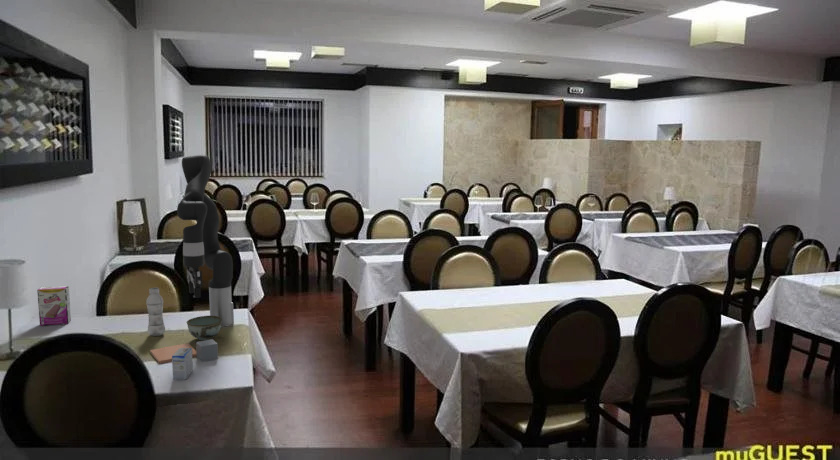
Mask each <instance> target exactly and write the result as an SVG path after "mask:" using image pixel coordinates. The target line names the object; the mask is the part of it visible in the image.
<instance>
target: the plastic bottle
mask: <svg viewBox="0 0 840 460" xmlns="http://www.w3.org/2000/svg"><path fill="white" fill-rule="evenodd" d="M148 291H149V292H148V293H149V295H148V297H147V298H146V301H145V303H146V307H147V314H148V324H147V325H148V326H147V332H148V335H149V336H152V337H159V336H162V335H164V333H165V332H166V326H165V323H164V316H163V315H164V314H163V311H164V310H163V308H164V299H163V297H162V295H160V288H159V287H151V288H149V289H148Z"/></svg>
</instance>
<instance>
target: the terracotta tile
mask: <svg viewBox="0 0 840 460" xmlns="http://www.w3.org/2000/svg"><path fill="white" fill-rule="evenodd" d="M179 348H192V358H196V357H197V350H196V349H195V348H194V347H193V346H192V345H191V344H190V343H188V342H187V343H181V344H176V345H175V344H174V345H169V346H165V347H160V348H159V347H158V348H154V349H150V350H149V353H150V354H151V356H152V357H153V358H154V360H156V361H157V363H158V364H165V363H169V362H171V363H172V356H173V355H174V354H175V353H176V352H177V350H178V349H179Z"/></svg>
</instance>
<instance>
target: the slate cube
mask: <svg viewBox="0 0 840 460" xmlns="http://www.w3.org/2000/svg"><path fill="white" fill-rule="evenodd" d="M195 343H196V344H195V345H196V346H195V348H196V349H195V350H196V351H197V356H196V358H197V359H198V360H199V361H200V362H201V363H203V362H208V361H214V360H218V359H219V349H218V348H219V346H218V343H217V342H216V341H215V340H214V338H213V339H210V340H205V341H196V342H195Z"/></svg>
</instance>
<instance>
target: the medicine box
mask: <svg viewBox="0 0 840 460" xmlns="http://www.w3.org/2000/svg"><path fill="white" fill-rule="evenodd" d="M171 363H172V380H173V381H179V380H181V381H185V380H187V378H188V377H189V376H190V375H191V373H192V372H193V369H194V368H193V367H194V366H193V365H194V364H193V357H192V348H179V349H178V350H177V352H176V353H175V354H174V355H173V356H172V361H171Z"/></svg>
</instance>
